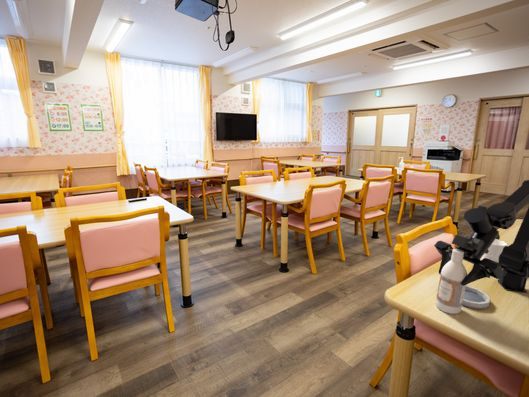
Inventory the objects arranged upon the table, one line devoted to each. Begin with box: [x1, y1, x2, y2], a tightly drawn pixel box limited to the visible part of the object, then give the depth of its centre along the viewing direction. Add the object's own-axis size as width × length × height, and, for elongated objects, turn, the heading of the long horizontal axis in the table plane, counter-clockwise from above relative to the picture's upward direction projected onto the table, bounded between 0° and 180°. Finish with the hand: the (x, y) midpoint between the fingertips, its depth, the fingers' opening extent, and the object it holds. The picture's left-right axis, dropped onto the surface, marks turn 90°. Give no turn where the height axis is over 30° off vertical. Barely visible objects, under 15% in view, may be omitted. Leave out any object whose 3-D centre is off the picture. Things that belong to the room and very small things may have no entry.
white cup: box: [480, 239, 508, 263], centre depth 122 cm, size 8×8×10 cm
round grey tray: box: [462, 284, 491, 310], centre depth 97 cm, size 12×12×2 cm
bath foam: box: [435, 248, 468, 315], centre depth 90 cm, size 7×7×20 cm
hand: (450, 279), depth 89 cm, fingers closed on bath foam, 7 cm apart
